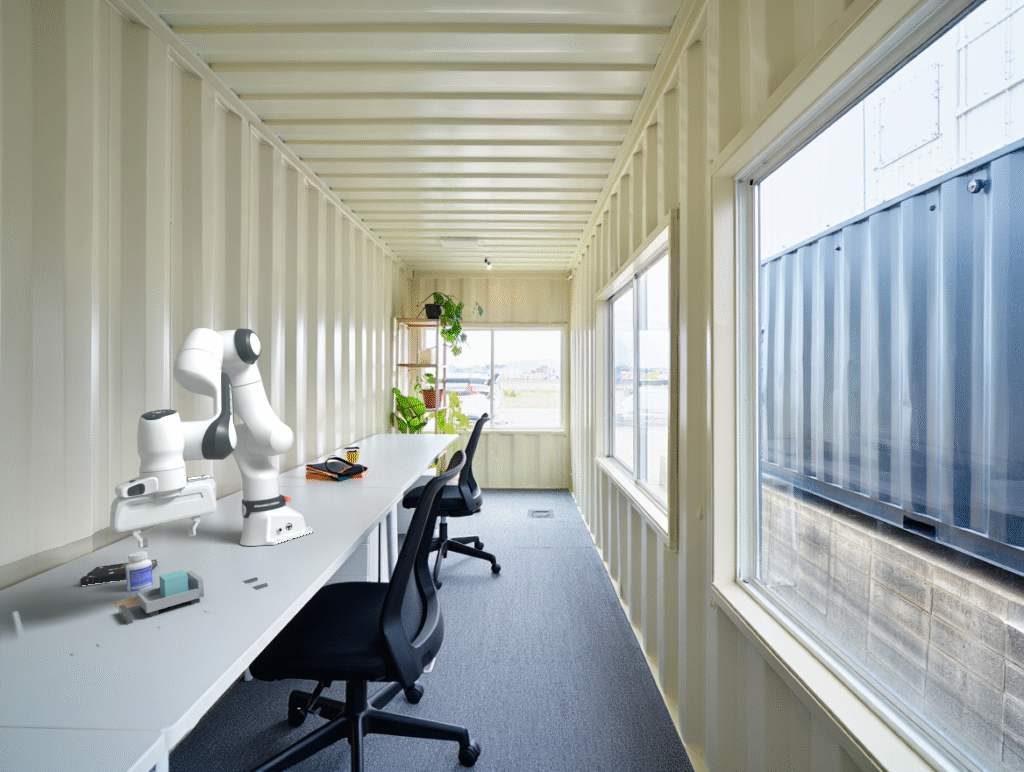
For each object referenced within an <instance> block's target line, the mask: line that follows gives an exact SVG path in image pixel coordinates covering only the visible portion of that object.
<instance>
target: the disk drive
mask: <svg viewBox="0 0 1024 772" xmlns="http://www.w3.org/2000/svg"><path fill="white" fill-rule="evenodd" d="M150 560H151V562H152V570H153V569H154V568H155V567H156V566H157V567H158V561H157V559H156V558H155V559H150ZM128 563H129V562H123V563H116V564H107V565H101V566H96V567H94V569H92V570H91V571H89V572H88V573H87V574H86V575H83V576H82V577H81V578H79V582H80V587H81V586H82V585H88V584H95V583H103V582H110V581H118V582H121V581H120V580H122V581H126V565H127V564H128ZM157 567H156V568H157ZM156 568H155V569H156ZM155 569H154V570H155ZM154 570H153V571H154Z"/></svg>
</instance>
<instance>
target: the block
mask: <svg viewBox="0 0 1024 772" xmlns="http://www.w3.org/2000/svg"><path fill="white" fill-rule="evenodd" d="M158 577H159V587H160V595H161V596H162V597H163V598H164V597H168V596H171V595H175V594H178V593H182V592H185V591H188V574H187V573H186V572H185V571H184V570H183V569H180V570H177V571H174V572H169V573H165V574H161V575H159V576H158Z"/></svg>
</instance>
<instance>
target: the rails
mask: <svg viewBox="0 0 1024 772" xmlns="http://www.w3.org/2000/svg"><path fill="white" fill-rule="evenodd" d="M257 581H259V579H258V577H251V578H248V579H245V580H242V583H244V584H250V583H253V582H257ZM268 586H269V585H268V583H267V582H264V583H261V584H257V585H254V586H251V588H252V589H254V590H260V589H264V588H267V587H268ZM118 615H119V616H120V618H121V619H122V620H123V621H124V623H125V624H126V625H131V624H134V623H133V622H134V621H133V619H134V618H133V613H132V612H131V611H130V609H129V607H128V608H127V607H126V606H125V605H120V606H119V609H118Z"/></svg>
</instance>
